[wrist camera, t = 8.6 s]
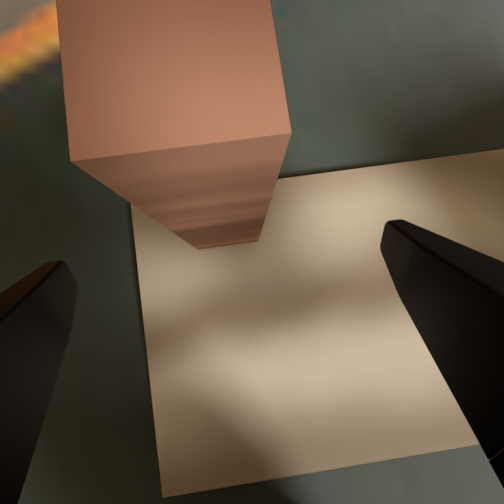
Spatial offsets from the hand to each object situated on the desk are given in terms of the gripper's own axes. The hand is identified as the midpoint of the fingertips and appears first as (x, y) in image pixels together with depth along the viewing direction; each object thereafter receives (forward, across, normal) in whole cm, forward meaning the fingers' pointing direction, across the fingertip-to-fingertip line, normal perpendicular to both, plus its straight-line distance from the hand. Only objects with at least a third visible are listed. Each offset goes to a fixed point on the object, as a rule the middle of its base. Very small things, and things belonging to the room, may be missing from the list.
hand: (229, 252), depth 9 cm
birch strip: (+3, -10, +7) cm, 13 cm away
